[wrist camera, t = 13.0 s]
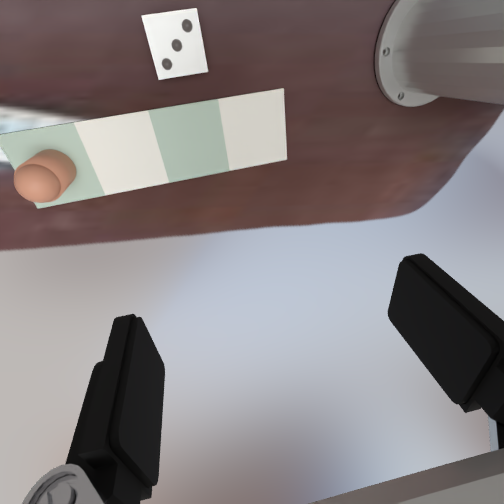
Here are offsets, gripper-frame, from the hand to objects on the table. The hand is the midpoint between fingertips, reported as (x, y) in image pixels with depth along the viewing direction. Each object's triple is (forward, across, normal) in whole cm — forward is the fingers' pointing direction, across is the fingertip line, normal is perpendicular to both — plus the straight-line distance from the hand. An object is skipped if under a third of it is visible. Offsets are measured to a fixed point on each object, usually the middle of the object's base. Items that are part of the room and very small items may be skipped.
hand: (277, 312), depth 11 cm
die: (+29, +2, -8) cm, 30 cm away
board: (+28, +6, 0) cm, 29 cm away
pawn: (+27, +18, +1) cm, 32 cm away
